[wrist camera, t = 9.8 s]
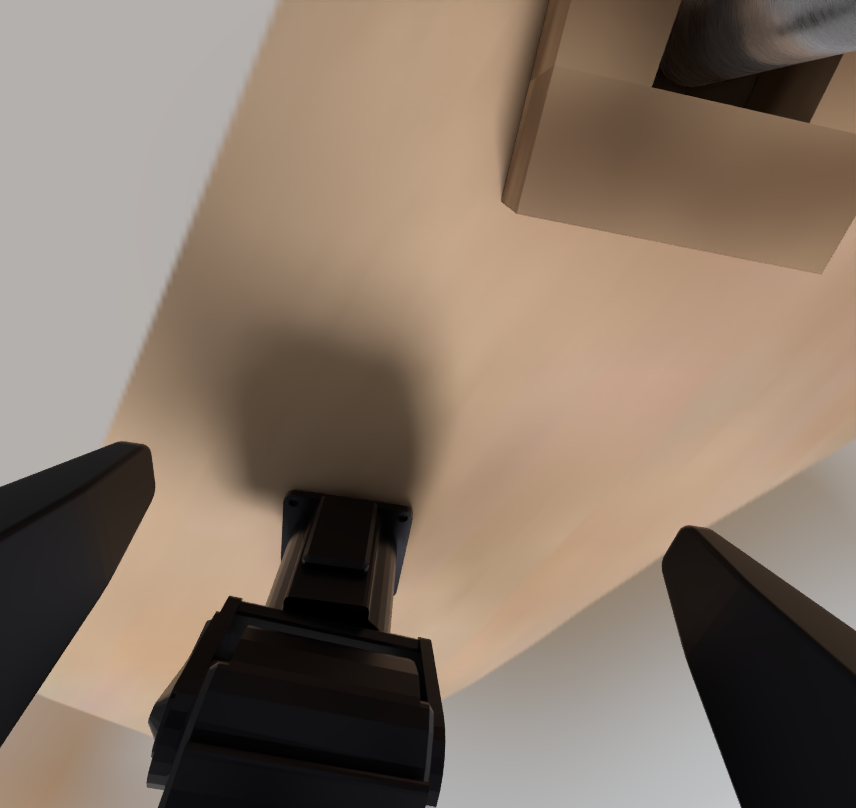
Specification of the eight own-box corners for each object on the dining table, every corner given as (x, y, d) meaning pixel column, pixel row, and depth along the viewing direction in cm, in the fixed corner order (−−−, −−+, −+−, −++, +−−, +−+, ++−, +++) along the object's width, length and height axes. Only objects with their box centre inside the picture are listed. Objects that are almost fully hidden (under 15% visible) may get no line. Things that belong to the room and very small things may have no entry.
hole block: (754, 252, 18) (821, 274, 15) (501, 201, 17) (516, 213, 14) (989, -213, 12) (1176, -335, 9) (626, -324, 11) (698, -497, 8)
